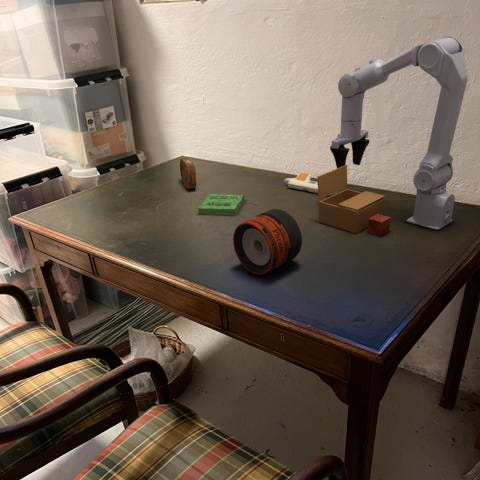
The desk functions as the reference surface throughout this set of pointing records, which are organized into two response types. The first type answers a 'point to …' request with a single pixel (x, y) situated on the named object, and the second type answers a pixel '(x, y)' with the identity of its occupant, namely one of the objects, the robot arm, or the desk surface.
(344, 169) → the flap
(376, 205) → the carton
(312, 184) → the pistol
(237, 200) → the carved green slab
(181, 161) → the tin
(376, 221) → the block
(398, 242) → the desk surface
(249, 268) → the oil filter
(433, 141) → the robot arm
